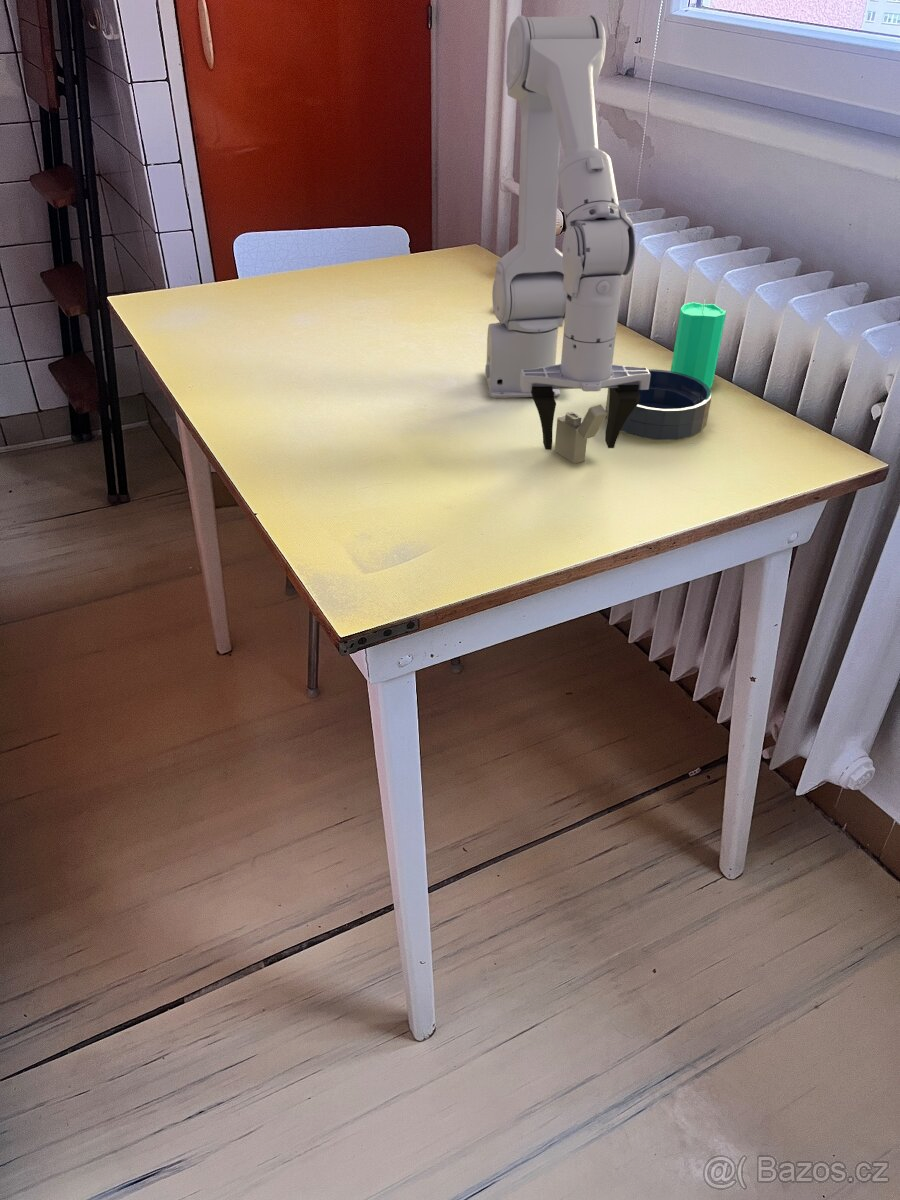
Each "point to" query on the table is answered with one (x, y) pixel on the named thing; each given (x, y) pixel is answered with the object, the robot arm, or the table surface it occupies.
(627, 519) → the table surface
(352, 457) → the table surface
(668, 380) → the bowl
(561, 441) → the lighter
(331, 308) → the table surface
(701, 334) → the candle
